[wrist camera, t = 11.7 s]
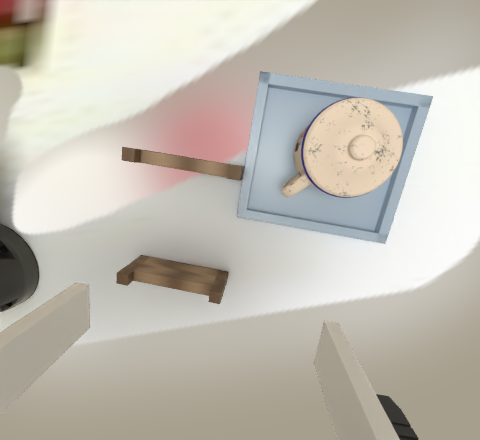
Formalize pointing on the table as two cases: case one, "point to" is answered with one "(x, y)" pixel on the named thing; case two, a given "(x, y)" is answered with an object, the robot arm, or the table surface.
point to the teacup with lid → (347, 149)
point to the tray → (283, 169)
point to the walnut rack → (171, 271)
